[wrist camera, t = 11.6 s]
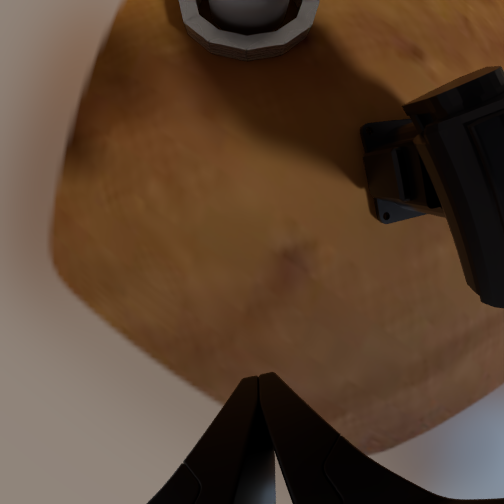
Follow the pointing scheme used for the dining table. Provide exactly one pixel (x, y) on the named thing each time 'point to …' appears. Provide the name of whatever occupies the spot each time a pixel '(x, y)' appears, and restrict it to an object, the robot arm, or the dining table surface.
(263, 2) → the lens puck
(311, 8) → the barrel ring
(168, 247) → the dining table surface
